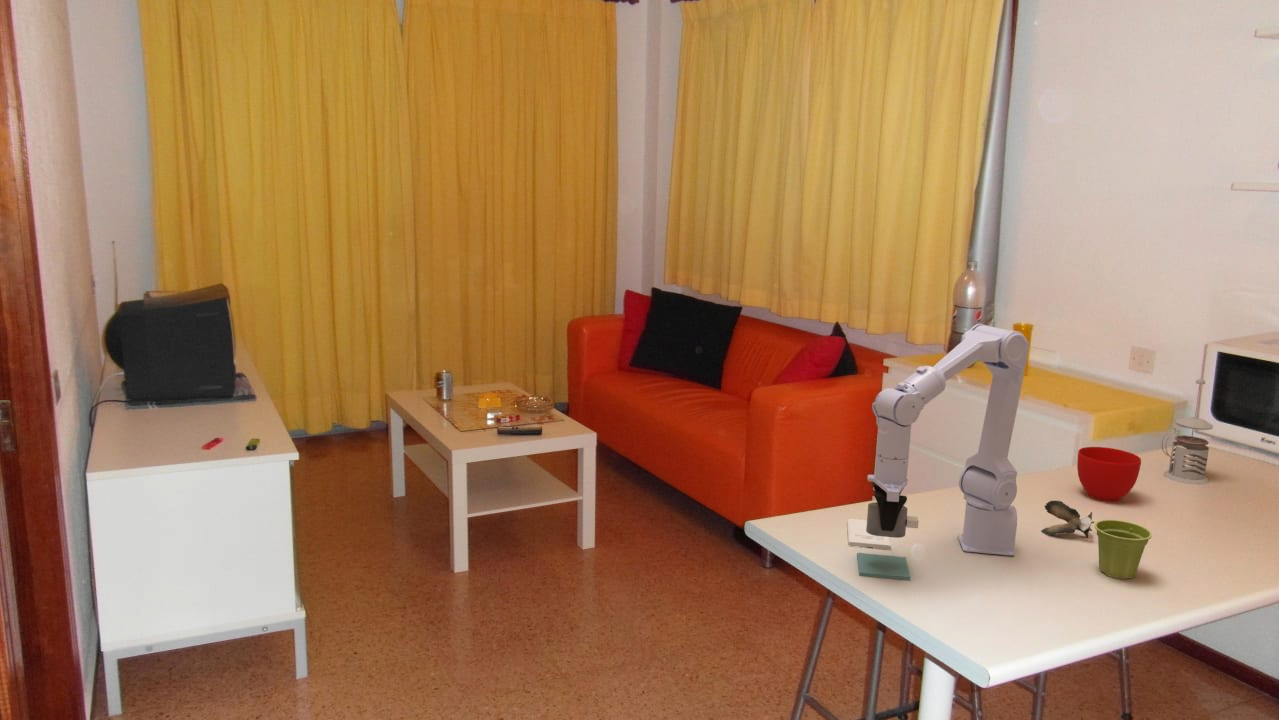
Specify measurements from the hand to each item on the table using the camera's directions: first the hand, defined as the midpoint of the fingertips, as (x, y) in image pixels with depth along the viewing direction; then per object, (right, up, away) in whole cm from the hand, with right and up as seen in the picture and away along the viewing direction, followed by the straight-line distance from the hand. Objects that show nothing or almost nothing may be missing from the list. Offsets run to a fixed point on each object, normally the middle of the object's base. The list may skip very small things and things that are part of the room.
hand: (886, 525), depth 170 cm
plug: (0, -1, 0) cm, 1 cm away
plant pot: (+44, -9, +2) cm, 45 cm away
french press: (+89, +1, +58) cm, 106 cm away
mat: (0, -8, +2) cm, 8 cm away
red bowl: (+63, -1, +44) cm, 77 cm away
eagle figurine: (+42, -6, +20) cm, 47 cm away
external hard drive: (+1, -6, +17) cm, 18 cm away
